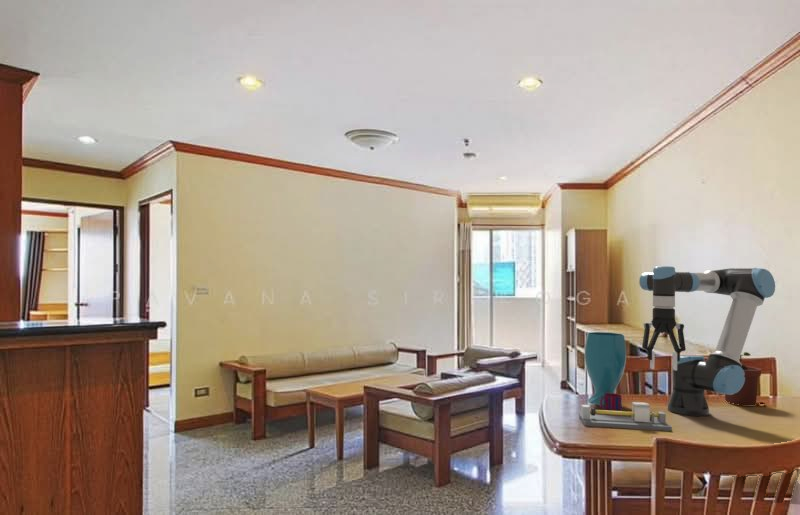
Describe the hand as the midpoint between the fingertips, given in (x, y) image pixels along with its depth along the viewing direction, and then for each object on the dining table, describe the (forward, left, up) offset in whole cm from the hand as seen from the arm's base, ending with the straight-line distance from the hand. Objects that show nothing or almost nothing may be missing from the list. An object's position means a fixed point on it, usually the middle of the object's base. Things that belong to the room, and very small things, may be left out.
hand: (663, 369), depth 202 cm
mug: (+15, -19, -21) cm, 32 cm away
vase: (+13, -37, -21) cm, 45 cm away
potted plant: (-50, -52, -21) cm, 75 cm away
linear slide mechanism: (+14, 0, -21) cm, 25 cm away
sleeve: (+8, 0, -19) cm, 21 cm away
